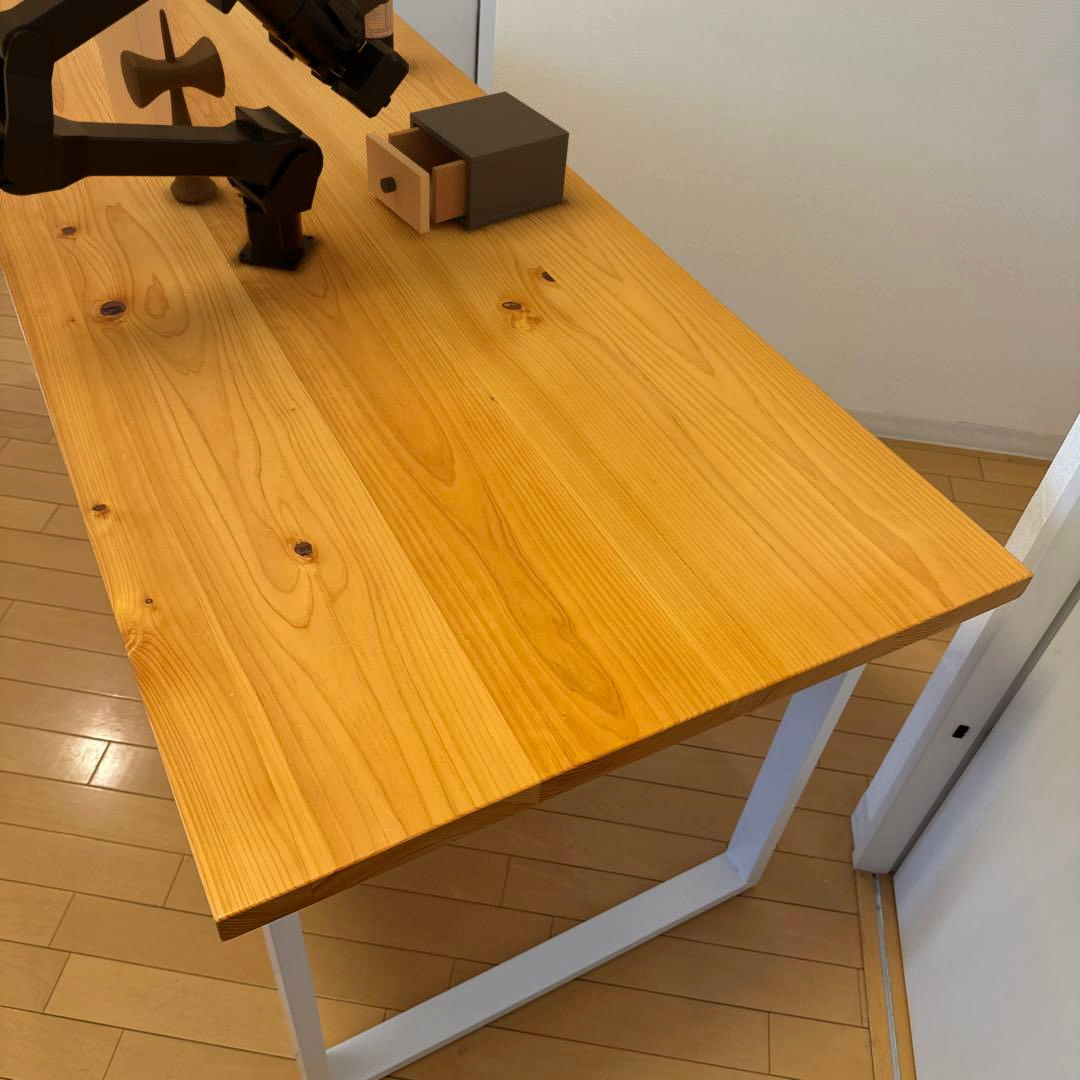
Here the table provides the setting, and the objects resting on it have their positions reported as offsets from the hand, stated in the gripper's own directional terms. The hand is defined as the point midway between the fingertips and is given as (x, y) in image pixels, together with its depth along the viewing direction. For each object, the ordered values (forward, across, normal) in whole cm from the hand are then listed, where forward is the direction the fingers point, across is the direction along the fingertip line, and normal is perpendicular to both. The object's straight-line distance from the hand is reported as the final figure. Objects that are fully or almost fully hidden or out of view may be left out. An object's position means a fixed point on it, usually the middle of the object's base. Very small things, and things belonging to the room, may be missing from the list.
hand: (387, 102), depth 106 cm
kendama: (-1, +16, +21) cm, 26 cm away
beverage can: (+24, +38, -6) cm, 46 cm away
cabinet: (+19, 0, -1) cm, 19 cm away
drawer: (+13, 0, +4) cm, 14 cm away
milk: (-1, +29, +20) cm, 35 cm away
